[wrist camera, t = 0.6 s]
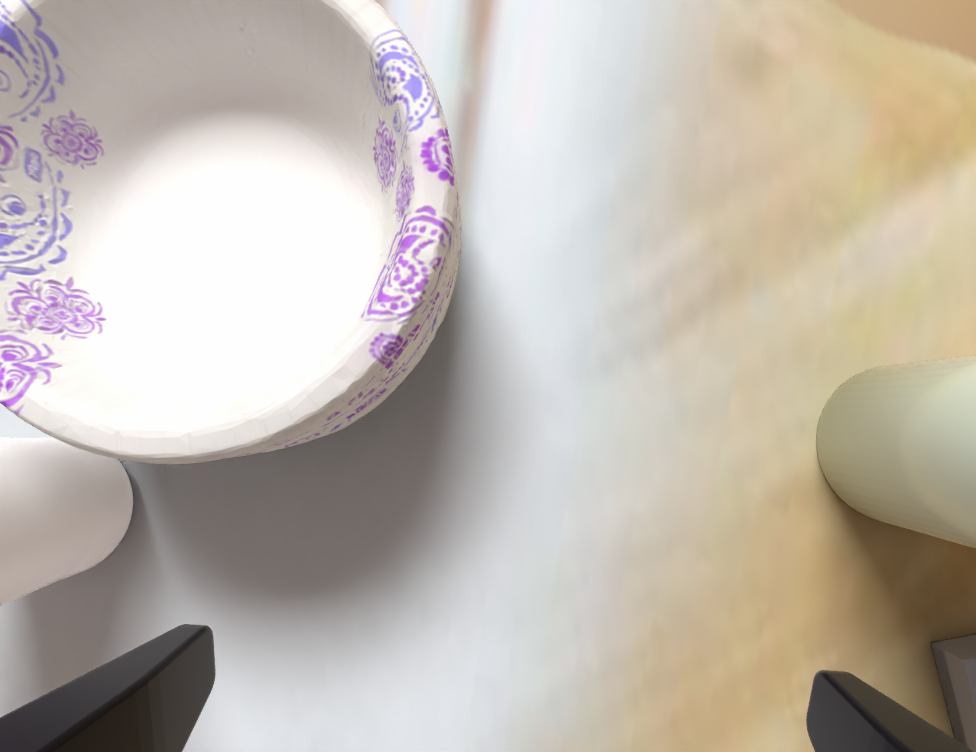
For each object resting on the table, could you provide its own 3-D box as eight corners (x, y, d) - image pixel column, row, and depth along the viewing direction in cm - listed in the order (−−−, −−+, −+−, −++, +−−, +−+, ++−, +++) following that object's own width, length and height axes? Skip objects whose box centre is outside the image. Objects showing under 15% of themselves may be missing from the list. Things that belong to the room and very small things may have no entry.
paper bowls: (528, 363, 22) (538, 335, 14) (173, 504, 22) (-12, 554, 14) (391, 27, 23) (331, -173, 15) (56, 162, 23) (-175, 34, 15)
